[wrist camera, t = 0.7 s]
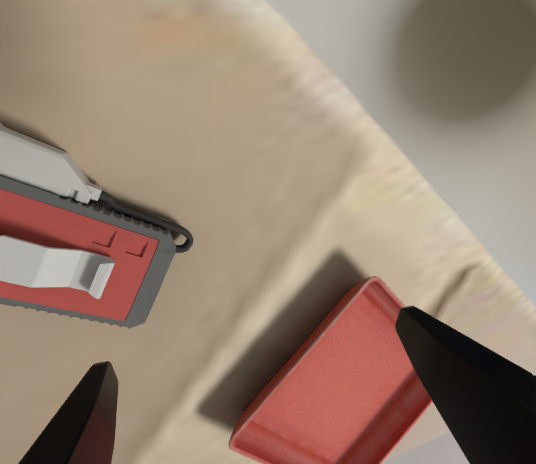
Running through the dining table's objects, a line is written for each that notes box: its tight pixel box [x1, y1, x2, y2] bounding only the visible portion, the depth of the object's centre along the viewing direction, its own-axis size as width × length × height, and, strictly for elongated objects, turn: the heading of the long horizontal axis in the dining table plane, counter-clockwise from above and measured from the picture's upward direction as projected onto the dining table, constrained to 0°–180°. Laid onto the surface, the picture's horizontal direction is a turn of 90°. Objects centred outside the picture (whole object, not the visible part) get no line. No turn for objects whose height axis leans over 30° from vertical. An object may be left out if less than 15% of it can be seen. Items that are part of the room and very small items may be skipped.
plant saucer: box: [229, 276, 433, 464], centre depth 30 cm, size 18×18×3 cm
